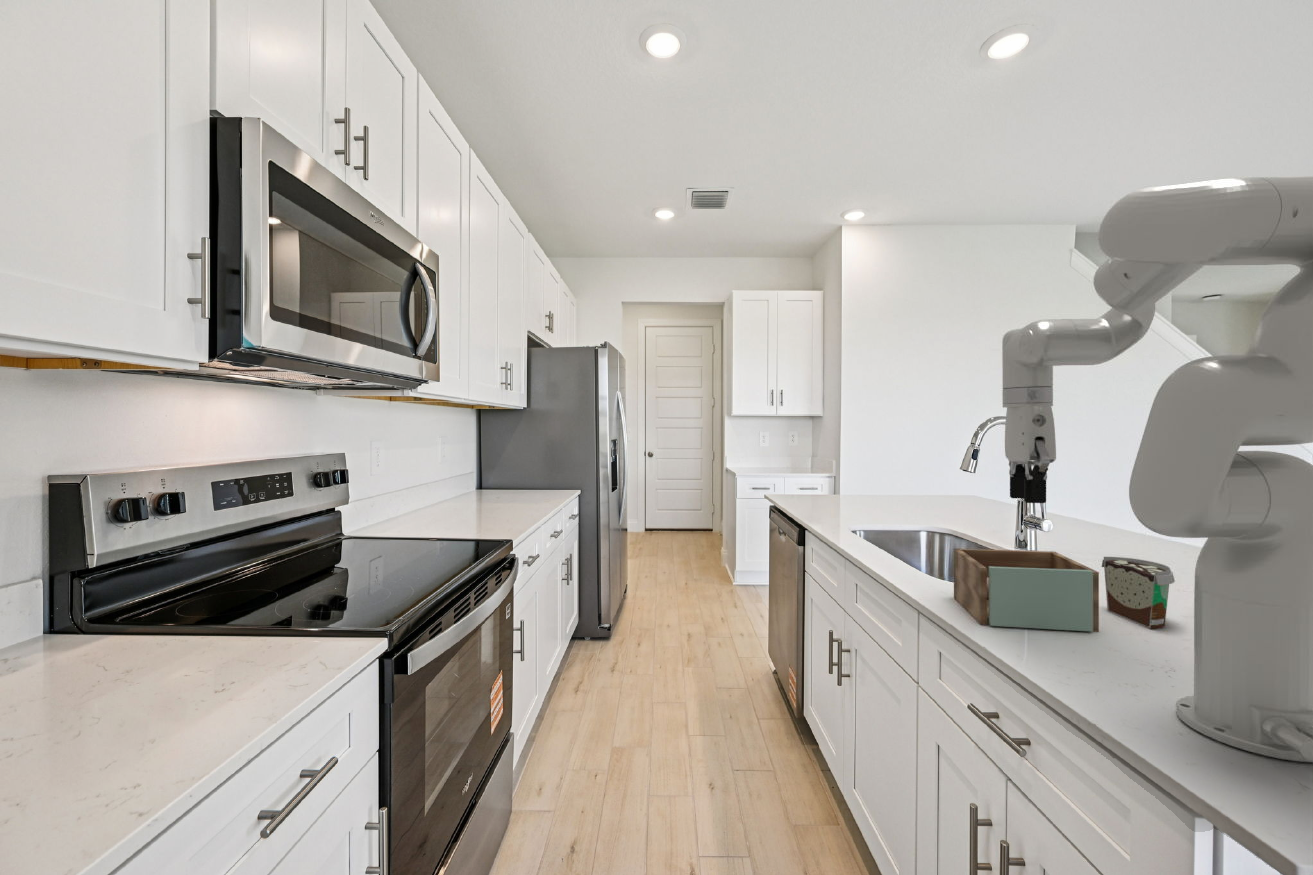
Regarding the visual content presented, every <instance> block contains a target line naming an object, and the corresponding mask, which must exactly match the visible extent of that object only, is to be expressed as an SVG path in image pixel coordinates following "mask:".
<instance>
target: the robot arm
mask: <svg viewBox="0 0 1313 875" xmlns="http://www.w3.org/2000/svg"><path fill="white" fill-rule="evenodd" d="M1097 236H1098V237H1097V238H1098V245H1099V247H1100V249H1101V251H1102V252H1103V254H1104V255H1105V256H1107V257H1108V259H1106V260H1105V261H1104V262H1103V263H1102V264H1101V265H1100V266H1099V267H1098V268H1097V269H1096V271H1095V273H1094V276H1093V287H1094V290H1095V292H1096V294H1097V295H1098V297H1099V298H1100V299H1101V300H1102V301H1103V302H1104V303H1105V304H1106V305H1108V306H1109V307H1111V308H1110V309H1109V310H1108V311H1106V312H1105V313H1104V314H1102V315H1100V316H1099V317H1097V318H1067V319H1066V318H1064V319H1063V318H1060V319H1054V318H1053V319H1052V318H1051V319H1038V320H1034V321H1032V322H1030V323H1029V324H1027V325H1025V326H1023V327H1022V328H1015V329H1011V330H1009V331H1007V332H1005V334H1004V335H1003V337H1002V343H1001V345H1002V346H1001V347H1002V349H1001V350H1002V352H1001V353H1002V354H1001V356H1002V367H1001V368H1002V390H1001V392H1002V394H1001V395H1002V408H1006V415H1005V425H1004V426H1005V427H1004V454H1005V457H1006V459H1007V460H1008V462H1009V463H1008V466H1009V470H1008V471H1009V472H1008V474H1009V498H1011V499H1023V501H1024V502H1025V503H1026V504H1045V503H1047V480H1048V474H1047V472H1048V470H1049V468H1048V467H1049V466H1050V464H1052V463H1054V462H1056V460H1057V446H1056V445H1057V444H1056V442H1057V441H1056V428H1055V419H1054V413H1053V408H1052V407H1054V367H1060V366H1095V365H1101V364H1103V363H1107V362H1109V361H1111V360H1113V359H1114V358H1116V357H1118V356H1120V355H1121V354H1124V353H1125V352H1126V351H1127V350H1129V349H1130V348H1132V347H1133V346H1134V345H1136V344H1137V343H1138V342H1139V341H1141V340H1142V339H1143V338H1144V337H1145V335H1147V333H1148V331H1149V329H1150V327H1151V325H1152V323H1153V320H1154V317H1155V314H1156V303H1157V302H1159V300H1161V299H1163V297H1166V296H1167V295H1168V294H1169V293H1170V292H1171V291H1173V290H1174V289H1175V288H1176V287H1178V286H1179V285H1181V284H1182V283H1183V282H1184V281H1186V280H1187V279H1189V278H1190V277H1191V276H1193V275H1194V274H1195V273H1198V271H1199V270H1200V269H1202V268H1203V267H1204V266H1272V265H1292V266H1296V267H1298V268H1299V272H1298V273H1297V274H1296V275H1295V276H1294V277H1292V278H1291V279H1289V281H1287V282H1286V283H1285V284H1284V285H1283V286H1282V287H1281V288H1280V289H1279V290H1278V291H1277V293H1276V294H1275V295H1274V296H1273V297H1272V298H1271V300H1270V301H1269V302H1268V304H1267V305H1266V307H1265V309H1264V311H1263V312H1262V314H1261V317H1260V319H1259V322H1258V325H1257V328H1256V331H1255V334H1254V337H1253V339H1252V341H1251V343H1250V345H1249V347H1248V349H1247V350H1246V352H1245V353H1244V354H1243V355H1242V354H1237V355H1235V354H1234V355H1231V354H1230V355H1229V354H1228V355H1225V354H1224V355H1213V356H1212V355H1211V356H1205V357H1200V358H1197V359H1193V360H1191V361H1189V362H1186V363H1185V364H1183V365H1181V366H1179V367H1178V368H1177V369H1175V370H1174V371H1173V372H1171V373H1170V375H1169V376H1168V377H1167V378H1166V379H1165V380H1164V381H1163V383H1162V384H1161V386H1160V387H1159V389H1158V390H1157V392H1156V394H1155V397H1154V399H1153V402H1152V404H1151V408H1150V411H1149V413H1148V418H1147V420H1146V424H1145V426H1144V431H1143V434H1142V437H1141V440H1140V444H1139V447H1138V451H1137V453H1136V457H1135V460H1134V464H1133V466H1132V471H1131V475H1130V479H1129V486H1128V497H1129V498H1128V499H1129V504H1130V507H1131V509H1132V510H1131V511H1132V512H1133V515H1134V516H1135V517H1136V519H1137V520H1138V522H1140V523H1141V525H1142V526H1144V527H1145V528H1146V529H1148V530H1150V531H1151V532H1154V533H1156V534H1159V535H1161V536H1166V537H1171V538H1183V539H1185V538H1186V539H1188V538H1189V539H1192V538H1193V539H1198V538H1199V539H1205V538H1207V539H1206V540H1205V542H1204V544H1203V545H1202V548H1200V549H1201V550H1200V552H1199V554H1198V557H1197V560H1196V563H1195V568H1194V589H1193V590H1194V591H1193V592H1194V593H1193V594H1194V596H1193V597H1194V598H1193V600H1194V601H1193V602H1194V603H1193V604H1194V605H1193V607H1194V608H1193V609H1194V610H1193V612H1194V613H1193V619H1194V620H1193V621H1194V622H1193V624H1194V625H1193V627H1194V628H1193V629H1194V630H1193V631H1194V633H1193V639H1194V641H1193V647H1194V648H1193V695H1189V696H1185V697H1181V698H1179V699H1178V700H1177V701H1176V704H1175V711H1176V714H1177V717H1178V718H1179V719H1180V720H1181V721H1182V722H1183V723H1184V724H1186V725H1187V726H1189V727H1190V728H1192V729H1193V730H1195V731H1196V732H1198V733H1200V734H1202V735H1204V736H1206V737H1209V738H1210V739H1213V740H1215V741H1218V742H1220V743H1222V744H1226V745H1228V746H1231V747H1233V748H1237V749H1239V750H1243V751H1246V752H1251V753H1254V754H1257V755H1261V756H1265V757H1269V758H1270V757H1271V758H1274V759H1279V760H1285V761H1286V760H1287V761H1291V762H1292V761H1293V762H1301V763H1303V762H1304V763H1313V464H1312V463H1310V462H1308V461H1307V460H1304V459H1303V458H1300V457H1297V456H1295V455H1292V454H1288V453H1283V452H1277V451H1269V450H1239V449H1240V447H1248V446H1249V447H1251V446H1252V447H1253V446H1256V447H1257V446H1258V447H1259V446H1262V447H1263V446H1291V445H1293V446H1294V445H1302V444H1312V443H1313V176H1294V177H1293V176H1289V177H1286V176H1284V177H1281V176H1280V177H1275V176H1274V177H1268V176H1267V177H1234V178H1232V177H1231V178H1222V179H1221V178H1220V179H1210V180H1203V181H1194V182H1189V183H1188V182H1187V183H1186V182H1185V183H1179V184H1171V185H1169V184H1168V185H1162V186H1161V185H1160V186H1148V187H1142V188H1139V189H1136V190H1133V191H1132V192H1129V193H1128V194H1126V195H1124V196H1123V197H1121V198H1120V199H1119V200H1118V201H1116V203H1114V204H1113V205H1112V206H1111V208H1109V209H1108V211H1107V212H1106V214H1105V215H1104V216H1103V218H1102V220H1101V223H1100V226H1099V230H1098V235H1097Z"/></svg>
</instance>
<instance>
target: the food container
mask: <svg viewBox="0 0 1313 875" xmlns="http://www.w3.org/2000/svg"><path fill="white" fill-rule="evenodd" d="M1101 567H1102V568H1103V569H1104V580H1105V592H1106V593H1105V595H1106V605H1107V607H1106V608H1107V612H1108V613H1111V614H1112V615H1114V616H1117V617H1119V618H1122V619H1124V620H1127V621H1129V622H1131V623H1134V624H1137V625H1138V624H1139V626H1141V627H1143V628H1146V629H1148V630H1158V629H1163V628H1164V627H1165V626H1166V616H1167V608H1168V599H1169V592H1170V591H1169V590H1170V585H1171V584H1172V585H1173V584H1174V583H1175V581H1176V580H1175V576H1174V572H1173V571H1172V569H1171V567H1170V566H1168V565H1166V564H1163V563H1160V562H1154V561H1150V560H1146V559H1139V558H1131V557H1122V556H1121V557H1120V556H1103V559H1102V562H1101Z"/></svg>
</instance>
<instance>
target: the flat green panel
mask: <svg viewBox="0 0 1313 875" xmlns="http://www.w3.org/2000/svg"><path fill="white" fill-rule="evenodd" d="M989 624H990V625H989V626H990V627H1007V628H1008V627H1010V628H1011V627H1013V628H1023V629H1025V628H1027V629H1042V630H1043V629H1045V630H1058V631H1059V630H1061V631H1063V630H1064V631H1078V632H1079V631H1080V632H1094V631H1093V571H1091V570H1074V569H1046V568H1019V567H991V566H989Z"/></svg>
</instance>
